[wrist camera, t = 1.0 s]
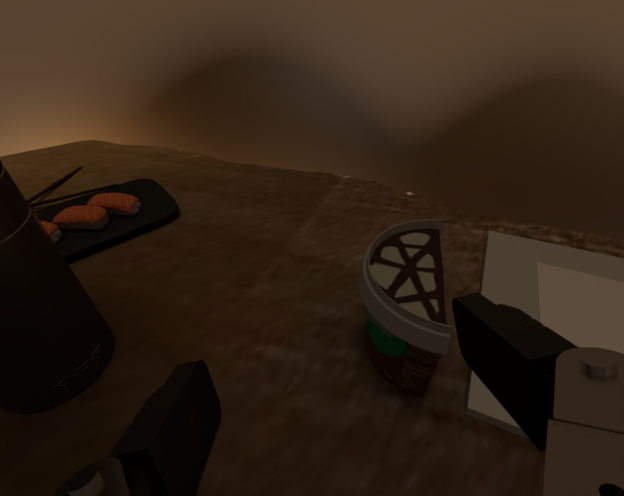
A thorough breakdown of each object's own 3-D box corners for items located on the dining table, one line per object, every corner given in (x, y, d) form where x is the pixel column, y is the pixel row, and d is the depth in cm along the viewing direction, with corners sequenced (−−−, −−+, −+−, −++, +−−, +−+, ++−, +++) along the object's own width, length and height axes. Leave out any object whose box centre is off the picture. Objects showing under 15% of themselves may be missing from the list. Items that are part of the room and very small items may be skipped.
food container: (362, 288, 36) (369, 208, 30) (422, 297, 35) (442, 216, 28) (342, 398, 27) (346, 316, 20) (423, 416, 26) (453, 334, 19)
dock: (464, 413, 26) (468, 406, 25) (486, 237, 42) (489, 229, 41) (852, 567, 18) (874, 563, 18) (695, 282, 35) (703, 273, 34)
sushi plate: (-82, 330, 34) (-113, 304, 32) (-67, 211, 53) (-86, 189, 50) (189, 220, 48) (181, 197, 46) (125, 157, 67) (118, 138, 64)
